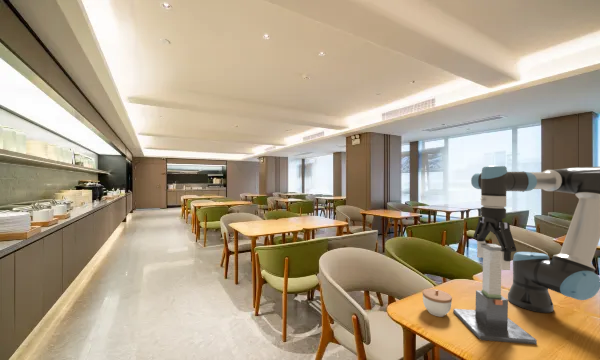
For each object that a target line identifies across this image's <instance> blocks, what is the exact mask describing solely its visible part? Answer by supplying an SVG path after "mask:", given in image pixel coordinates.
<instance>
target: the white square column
mask: <svg viewBox="0 0 600 360" xmlns="http://www.w3.org/2000/svg"><path fill="white" fill-rule="evenodd" d="M481 247H483V258H482V288H481V291H482V293H483V294H484V295H486V296H487V297H488V298H501V296H502V270H501V269H500V254H501V251H500V250H502V248H501V246H500V244H499V245H498V244H496V243H486V244H481Z"/></svg>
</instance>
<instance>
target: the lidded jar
mask: <svg viewBox="0 0 600 360" xmlns="http://www.w3.org/2000/svg"><path fill="white" fill-rule="evenodd" d="M452 301H453V297H452V295H451V294H449V293H448V292H446V291H443V290H441V289H436V288H425V289H423V290H422V302H423V305H424V308H425V309H426V310H427V311H428V313H429V314H430V315H432V316H435V317H439V318H440V317H445V316H446V315H447V314H449V312H450V311H451V308H452Z"/></svg>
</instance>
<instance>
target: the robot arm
mask: <svg viewBox="0 0 600 360" xmlns="http://www.w3.org/2000/svg"><path fill="white" fill-rule="evenodd" d="M470 182H471V186H472V187H473V188H474V189H476V190H480V191H481V192H480V193H481V194H480V195H481V196H480V204H481V207H480V216H479V217H478V222H477V225H476V228H475V230H474V234H473V238H474V239H475V240H476V241H477V242H476V245H477V246H476V249H477V250H476V257H477V258H479V259H481V258H482V259H483V247H481V244H487V242H486V241H487V240H486V238H487V237H488V235H490V232H491V233H493V235H495V237H496V238H497V241H498V243H499V246H501V248H502V250H500V251H501V254H500V269H501V271H511V260H512V253H513V252H515V253H514V254H513V260H512V284H511V287H510V288H509V291H508V293H507V300H508V302H509V303H511V304H513V305H514V306H517V307H519V308H521V309H525V310H527V311H528V310H529V311H532V312H535V313H536V312H537V313H542V314H543V313H544V314H547V313H548V314H549V313H553V312H554V303H553V301H552V298H551V295H550V293H549V290H551V291H553V292H555V293H558V294H561V295H562V296H564V297H568V298H572V299H575V300H579V301H585V300H586V301H587V300H589V299H591V298H593V297H595V296H596V295H597V294H598V293H599V292H600V276H599V274H597V273H596V272H595V271H596V268H595V266H594V265H593V264H592V262H593V259H594V256H595V253H596V250H597V247H598V245H599V242H600V166H577V167H576V166H575V167H566V168H559V169H558V168H557V169H546V170H543V171H535V172H534V171H532V172H531V171H508V169H507V166H505V165H486V166H483V167H482V168H481V172H476V173H474V174H473V175H472V176H471V179H470ZM532 190H543V191H545V192H557V193H558V192H559V193H566V194H573V195H574V194H575V197H576V198H578V201H577V202H578V203H577V205H576V207H575V210H574V213H573V215H572V219H571V221H570V224H569V228H568V229H567V233H566V236H565V239H564V241H563V243H562V246H561V249H560V252H559V253H557V254H553V256H552V259H550V256H549V255H548V254H547V253H546V254H545V253H542V252H541V253H540V252H536V251H535V252H533V251H532V252H531V251H517V247H516V244H515V240H514V237H513V235H512V231H511V225H510V222H504V221H503V220H504V219H506V218H507V209H506V207H507V192H522V193H524V192H530V191H532Z"/></svg>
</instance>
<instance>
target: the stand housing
mask: <svg viewBox="0 0 600 360" xmlns="http://www.w3.org/2000/svg"><path fill="white" fill-rule="evenodd" d="M508 310H509V300H508V298H506V297H504V296H503V295H501V298H488V297H487V296H486V295H484V294H483V293H482V290H476V289H475V309H463V308H453V314H455V315H456V317H457V318H458V319H459V320H460V321H461V323H463V324H464V325H465V326H466V328H468V329H469V330H470V331H471V332H472V334H473V335H474V336H477V337H478V338H479V339H481V340H480V341H488V340H489V341H490V342H500V343H501V342H502V343H515V344H526V345H527V344H529V345H537V344H538V343H537V341H538V340H537V339H536V338H535V337H534V336H532V335H531V334H530V333H529V332H527V331H525V330H524V328H522V327H521V326H519V325H518V324H517V323H515V322H514V321H513V320H511V319H510V318H509V317H508V316H509V315H508V313H509V312H508ZM477 337H476V338H477ZM478 338H477V339H478ZM479 339H478V340H479Z"/></svg>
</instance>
